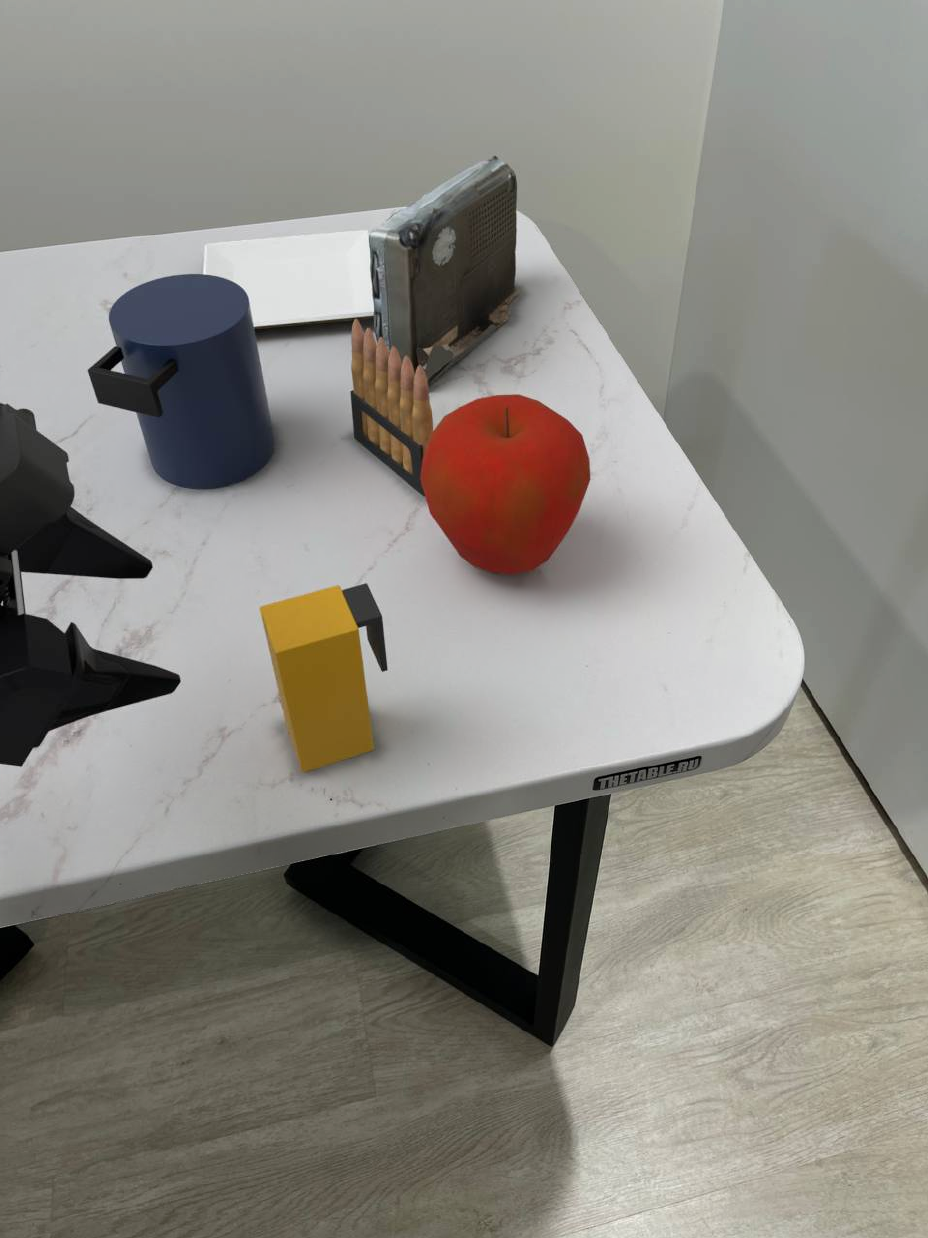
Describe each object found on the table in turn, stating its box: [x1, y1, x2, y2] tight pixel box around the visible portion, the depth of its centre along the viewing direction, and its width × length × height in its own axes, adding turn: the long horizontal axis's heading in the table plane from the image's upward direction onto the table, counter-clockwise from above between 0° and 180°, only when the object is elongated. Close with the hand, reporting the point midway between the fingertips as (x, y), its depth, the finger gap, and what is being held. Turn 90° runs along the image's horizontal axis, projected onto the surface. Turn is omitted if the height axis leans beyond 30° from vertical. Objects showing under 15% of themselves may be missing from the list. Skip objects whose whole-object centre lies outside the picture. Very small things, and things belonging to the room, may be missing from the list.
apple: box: [420, 393, 592, 575], centre depth 76 cm, size 12×12×14 cm
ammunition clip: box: [349, 319, 434, 496], centre depth 85 cm, size 11×2×12 cm, turn 38°
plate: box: [202, 229, 374, 330], centre depth 109 cm, size 19×19×2 cm
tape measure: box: [259, 583, 389, 773], centre depth 64 cm, size 7×4×12 cm, turn 111°
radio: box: [369, 155, 520, 386], centre depth 99 cm, size 23×9×15 cm, turn 144°
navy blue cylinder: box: [87, 273, 276, 490], centre depth 85 cm, size 14×11×14 cm
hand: (162, 624), depth 56 cm, fingers open, 9 cm apart
